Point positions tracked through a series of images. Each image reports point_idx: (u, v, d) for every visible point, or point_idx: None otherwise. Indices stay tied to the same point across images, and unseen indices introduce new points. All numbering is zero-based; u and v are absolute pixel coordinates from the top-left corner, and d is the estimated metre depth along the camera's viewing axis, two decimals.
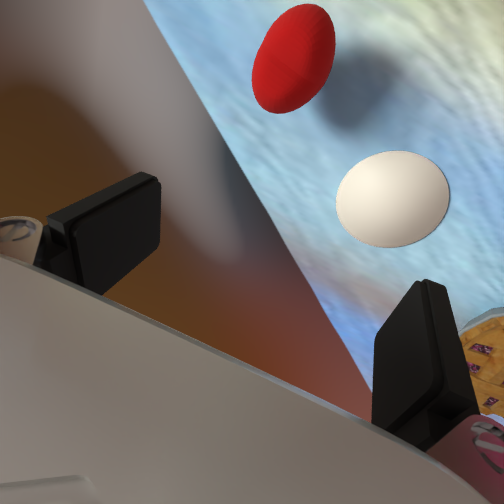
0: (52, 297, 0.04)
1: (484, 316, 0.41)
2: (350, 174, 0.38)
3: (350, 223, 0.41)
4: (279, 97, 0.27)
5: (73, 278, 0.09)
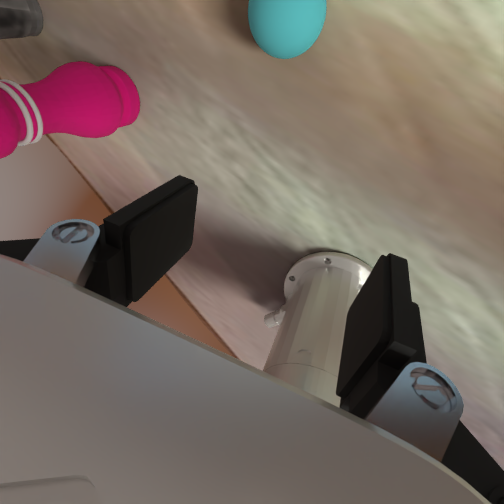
0: (52, 297, 0.04)
1: None
2: None
3: None
4: None
5: (123, 278, 0.09)
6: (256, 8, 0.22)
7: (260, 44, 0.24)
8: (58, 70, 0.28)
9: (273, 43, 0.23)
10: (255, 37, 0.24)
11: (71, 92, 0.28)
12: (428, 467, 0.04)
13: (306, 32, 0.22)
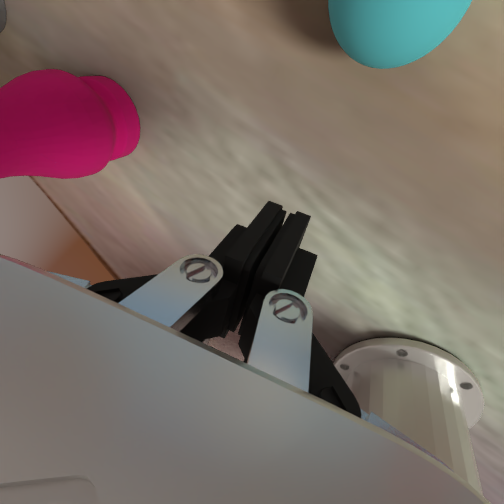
0: (52, 297, 0.04)
1: None
2: None
3: None
4: None
5: (231, 310, 0.09)
6: None
7: (349, 43, 0.14)
8: (13, 82, 0.18)
9: (380, 41, 0.13)
10: (341, 31, 0.13)
11: (30, 116, 0.18)
12: (428, 467, 0.04)
13: (446, 20, 0.12)
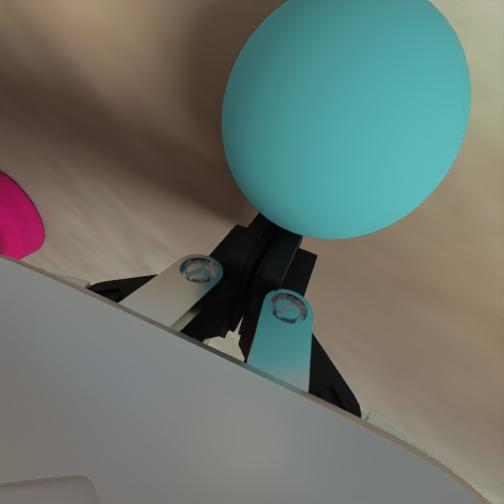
0: (52, 297, 0.04)
1: None
2: None
3: None
4: None
5: (231, 310, 0.09)
6: (245, 118, 0.06)
7: (254, 205, 0.08)
8: None
9: (297, 221, 0.07)
10: (240, 187, 0.08)
11: None
12: (428, 467, 0.04)
13: (409, 203, 0.07)
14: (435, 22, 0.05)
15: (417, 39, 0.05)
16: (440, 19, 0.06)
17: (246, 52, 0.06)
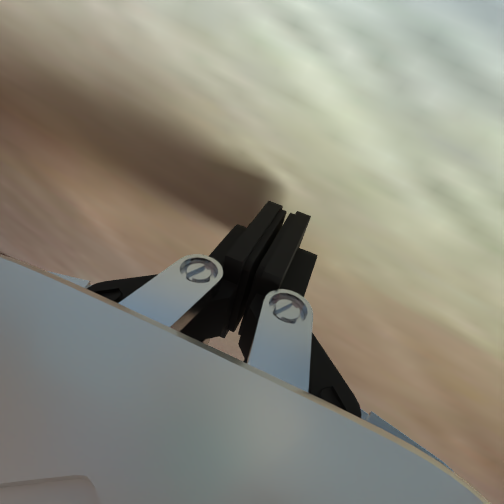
0: (52, 297, 0.04)
1: None
2: None
3: None
4: None
5: (231, 310, 0.09)
6: None
7: None
8: None
9: None
10: None
11: None
12: (428, 467, 0.04)
13: None
14: None
15: None
16: None
17: None
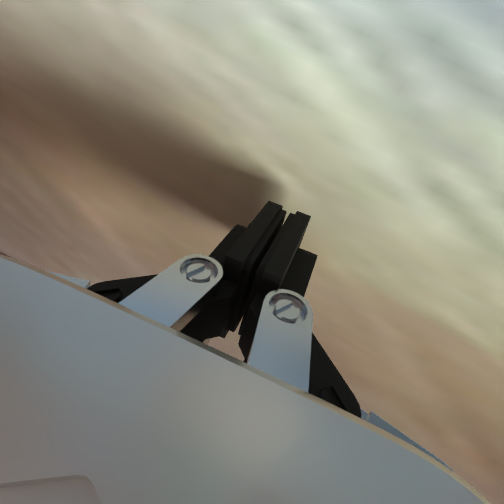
0: (52, 297, 0.04)
1: None
2: None
3: None
4: None
5: (231, 310, 0.09)
6: None
7: None
8: None
9: None
10: None
11: None
12: (428, 467, 0.04)
13: None
14: None
15: None
16: None
17: None
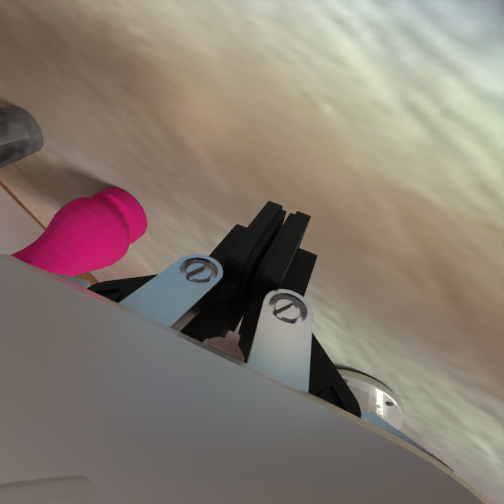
0: (52, 297, 0.04)
1: None
2: None
3: None
4: None
5: (231, 310, 0.09)
6: None
7: None
8: (62, 218, 0.27)
9: None
10: None
11: (76, 244, 0.26)
12: (428, 467, 0.04)
13: None
14: None
15: None
16: None
17: None
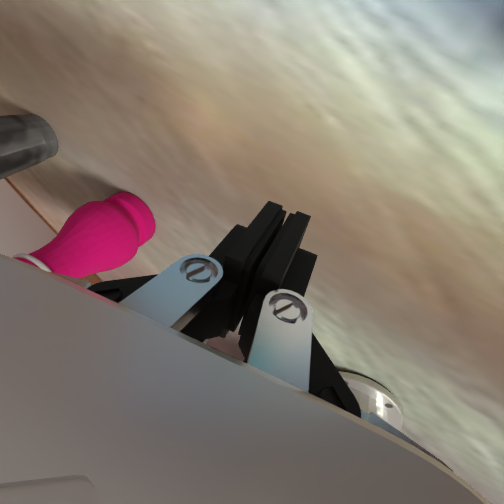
0: (52, 297, 0.04)
1: None
2: None
3: None
4: None
5: (231, 310, 0.09)
6: None
7: None
8: (76, 220, 0.28)
9: None
10: None
11: (89, 245, 0.27)
12: (428, 467, 0.04)
13: None
14: None
15: None
16: None
17: None
